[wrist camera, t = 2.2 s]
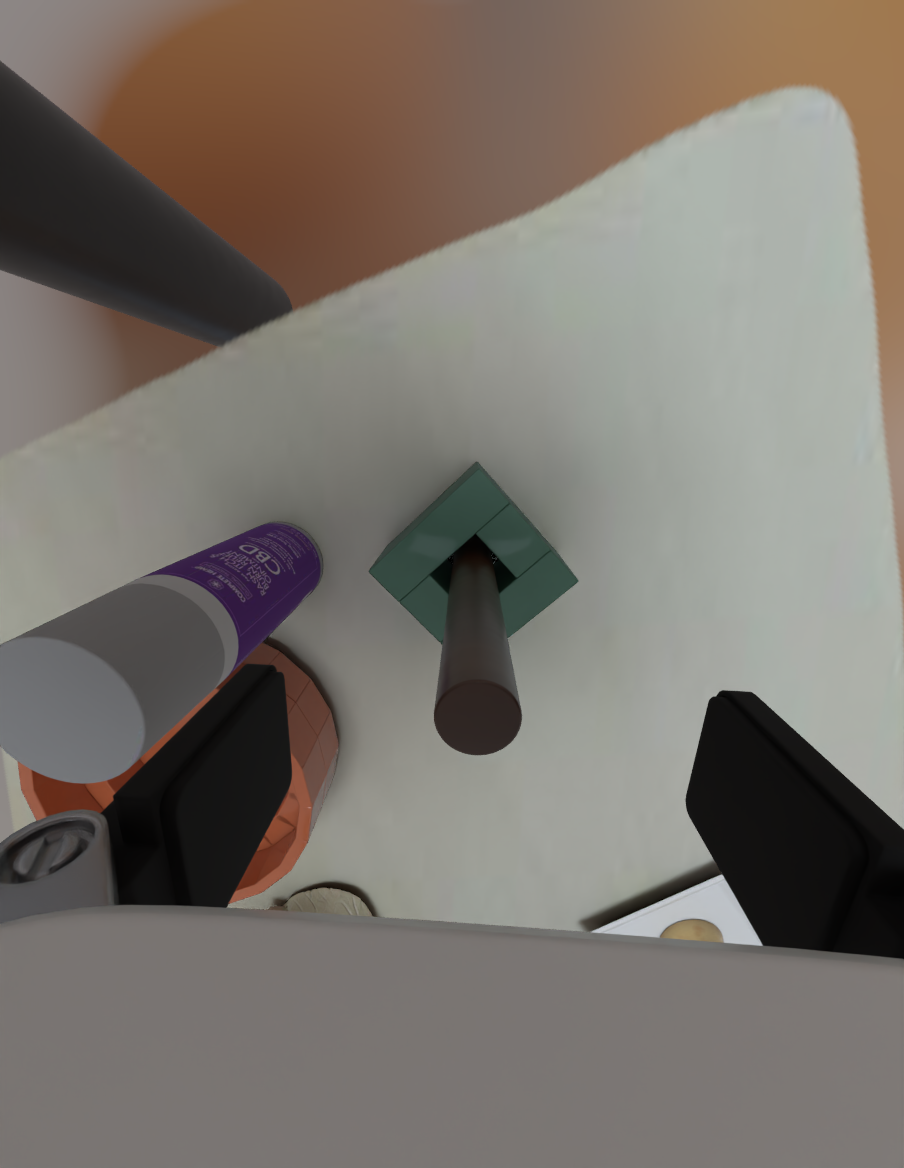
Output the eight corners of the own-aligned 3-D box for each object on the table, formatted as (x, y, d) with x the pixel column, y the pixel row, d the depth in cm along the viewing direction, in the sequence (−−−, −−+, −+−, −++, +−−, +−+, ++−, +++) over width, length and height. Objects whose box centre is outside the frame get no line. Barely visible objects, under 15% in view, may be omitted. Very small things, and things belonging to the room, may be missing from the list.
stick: (446, 549, 26) (415, 716, 10) (473, 525, 25) (481, 663, 10) (471, 574, 26) (474, 771, 11) (497, 551, 26) (540, 723, 10)
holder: (386, 546, 26) (367, 571, 21) (477, 461, 24) (479, 467, 19) (468, 629, 27) (468, 670, 22) (558, 554, 25) (579, 581, 21)
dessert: (729, 853, 32) (773, 923, 27) (799, 956, 34) (849, 1035, 30) (577, 920, 34) (594, 996, 29) (654, 1012, 37) (680, 1093, 32)
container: (328, 531, 26) (150, 655, 11) (318, 608, 27) (148, 803, 13) (245, 512, 25) (-43, 613, 11) (239, 591, 27) (-23, 768, 13)
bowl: (59, 720, 30) (-37, 787, 24) (201, 568, 26) (127, 605, 21) (240, 857, 33) (193, 944, 28) (389, 738, 30) (371, 810, 24)
